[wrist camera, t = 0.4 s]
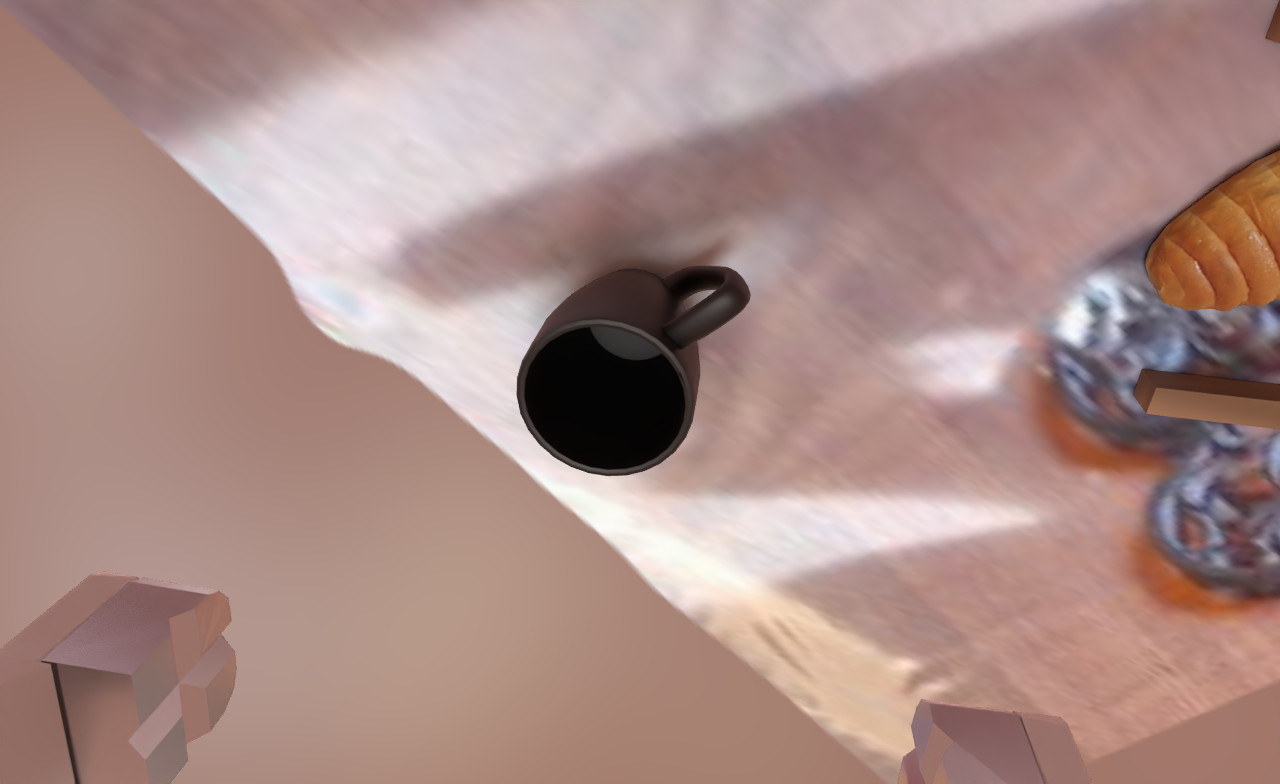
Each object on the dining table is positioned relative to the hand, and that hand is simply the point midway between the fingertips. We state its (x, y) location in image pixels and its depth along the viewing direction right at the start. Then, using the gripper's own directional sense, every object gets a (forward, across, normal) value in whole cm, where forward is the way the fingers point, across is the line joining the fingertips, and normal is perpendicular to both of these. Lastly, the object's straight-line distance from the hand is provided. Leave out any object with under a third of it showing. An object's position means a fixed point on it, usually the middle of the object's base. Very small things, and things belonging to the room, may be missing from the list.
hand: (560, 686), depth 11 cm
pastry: (+38, -26, 0) cm, 46 cm away
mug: (+38, +2, +7) cm, 39 cm away
